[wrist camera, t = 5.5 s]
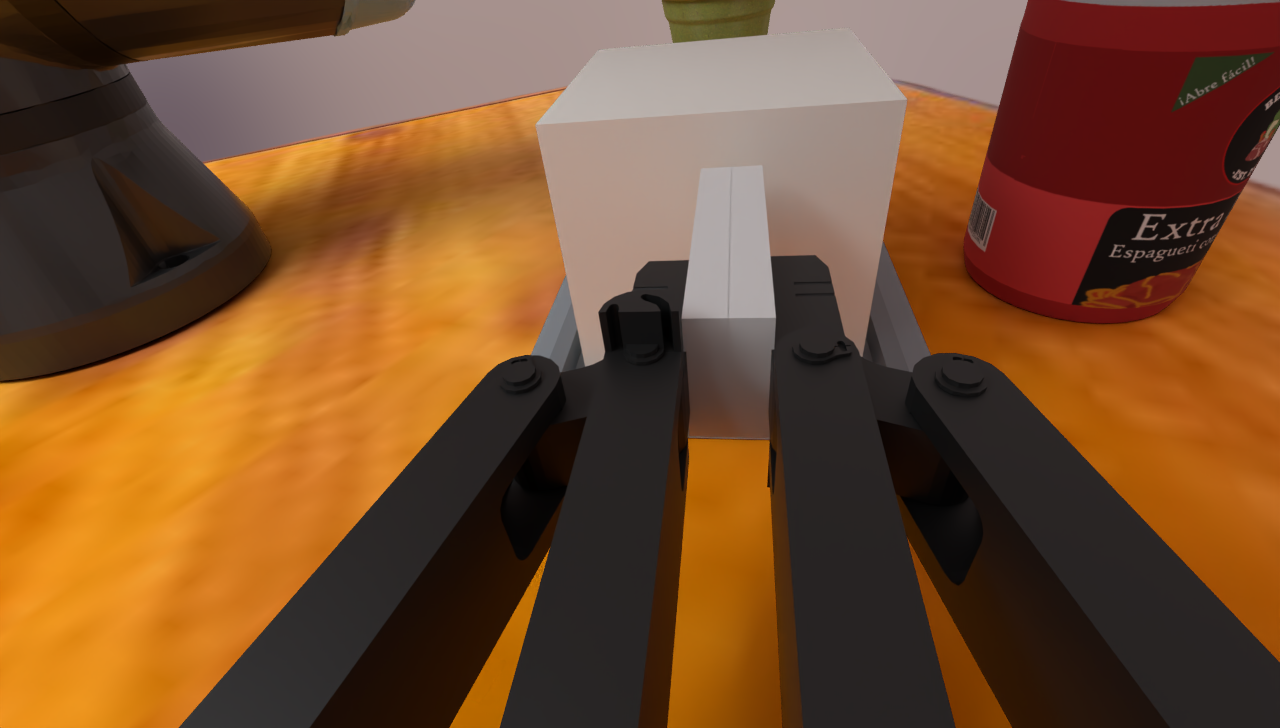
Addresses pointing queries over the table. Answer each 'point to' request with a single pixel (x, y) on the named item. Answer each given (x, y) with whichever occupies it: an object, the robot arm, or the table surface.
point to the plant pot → (717, 18)
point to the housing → (722, 159)
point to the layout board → (885, 344)
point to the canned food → (1121, 151)
